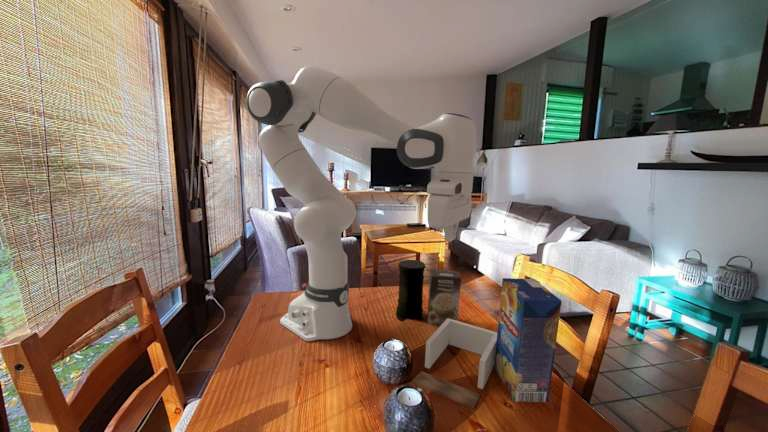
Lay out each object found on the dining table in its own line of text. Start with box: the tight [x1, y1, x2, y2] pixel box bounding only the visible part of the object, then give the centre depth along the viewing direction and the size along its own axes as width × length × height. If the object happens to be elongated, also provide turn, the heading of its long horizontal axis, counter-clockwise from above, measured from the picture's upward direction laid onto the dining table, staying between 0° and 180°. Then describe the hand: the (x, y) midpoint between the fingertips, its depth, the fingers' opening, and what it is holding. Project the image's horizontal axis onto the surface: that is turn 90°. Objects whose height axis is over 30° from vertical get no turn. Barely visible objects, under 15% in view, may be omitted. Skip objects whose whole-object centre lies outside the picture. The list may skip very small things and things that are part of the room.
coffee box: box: [426, 268, 462, 327], centre depth 104 cm, size 9×6×16 cm
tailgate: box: [411, 370, 481, 409], centre depth 74 cm, size 14×1×7 cm
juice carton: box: [493, 277, 563, 403], centre depth 74 cm, size 12×8×24 cm, turn 1°
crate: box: [424, 318, 497, 390], centre depth 82 cm, size 14×14×8 cm
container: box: [395, 259, 426, 322], centre depth 107 cm, size 9×9×18 cm
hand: (449, 240), depth 82 cm, fingers closed
